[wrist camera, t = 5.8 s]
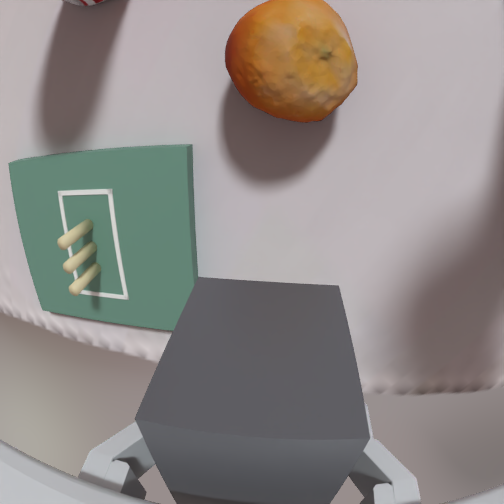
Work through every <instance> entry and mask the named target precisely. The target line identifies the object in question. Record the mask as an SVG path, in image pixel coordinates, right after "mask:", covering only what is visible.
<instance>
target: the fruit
mask: <svg viewBox="0 0 504 504" xmlns="http://www.w3.org/2000/svg"><path fill="white" fill-rule="evenodd" d="M225 63H226V68H227V70H228V73H229V75H230V77H231V79H232V81H233V83H234V85H235V87H236V88H237V90H238V91H239V93H240V94H241V95H242V96H243V97H244V98H245V99H246V100H247V101H248V103H249V104H251V105H252V106H253V107H255V108H258V109H260V110H262V111H264V112H266V113H268V114H270V115H272V116H274V117H277V118H283V119H287V120H291V121H297V122H311V121H320V120H322V119H324V118H325V117H326V116H328V115H329V114H330V113H331V112H332V111H333V110H334V109H336V108H337V107H338V106H340V105H341V104H342V103H343V102H344V100H345V99H346V98H347V97H348V96H349V94H350V93H351V92H352V91H353V89H354V88H355V87H356V85H357V68H358V65H357V61H356V57H355V54H354V50H353V47H352V43H351V40H350V37H349V34H348V31H347V29H346V26H345V24H344V23H343V21H342V19H341V17H340V16H339V14H337V13H336V11H334V10H333V9H332V8H331V7H330V6H329V5H328V4H327V3H326V2H324V1H323V0H269V1H267V2H265V3H262V4H260V5H258V6H256V7H255V8H253V9H252V10H250V11H249V12H248V13H246V14H245V15H244V16H243V17H242V18H241V19H240V20H239V21H238V23H237V24H236V25H235V27H234V29H233V31H232V32H231V34H230V36H229V38H228V41H227V44H226V50H225Z"/></svg>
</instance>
